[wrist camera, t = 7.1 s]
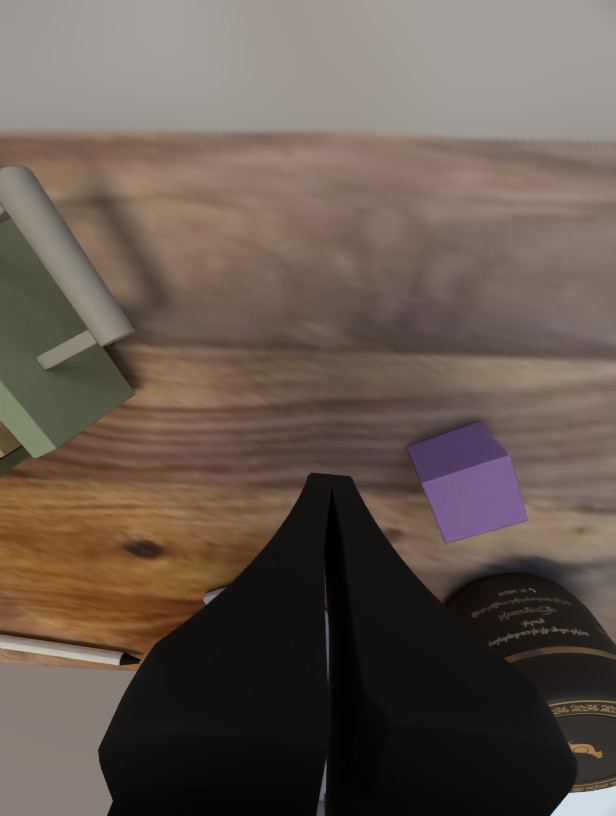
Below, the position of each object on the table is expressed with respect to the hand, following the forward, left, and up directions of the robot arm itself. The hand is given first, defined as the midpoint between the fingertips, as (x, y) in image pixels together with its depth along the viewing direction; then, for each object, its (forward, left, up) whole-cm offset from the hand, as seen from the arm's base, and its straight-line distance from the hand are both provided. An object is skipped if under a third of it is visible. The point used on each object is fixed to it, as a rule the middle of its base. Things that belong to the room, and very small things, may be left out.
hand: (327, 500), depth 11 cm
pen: (-10, +32, -9) cm, 35 cm away
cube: (-7, -5, -9) cm, 12 cm away
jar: (-21, -5, -9) cm, 23 cm away
